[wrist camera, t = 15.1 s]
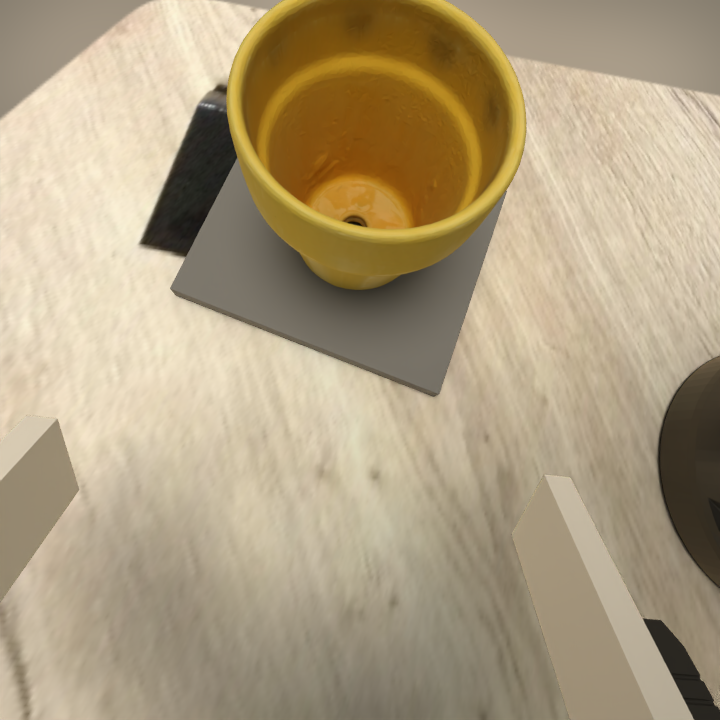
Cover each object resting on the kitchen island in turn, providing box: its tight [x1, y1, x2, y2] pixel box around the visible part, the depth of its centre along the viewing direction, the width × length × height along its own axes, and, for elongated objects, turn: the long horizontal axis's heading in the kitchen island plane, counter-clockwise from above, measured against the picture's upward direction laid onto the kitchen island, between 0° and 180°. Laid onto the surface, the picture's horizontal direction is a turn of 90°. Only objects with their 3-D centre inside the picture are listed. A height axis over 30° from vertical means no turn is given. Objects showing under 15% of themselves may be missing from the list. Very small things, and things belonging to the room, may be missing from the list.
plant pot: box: [227, 0, 526, 290], centre depth 19 cm, size 10×10×10 cm
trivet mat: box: [170, 158, 507, 396], centre depth 25 cm, size 15×13×1 cm
